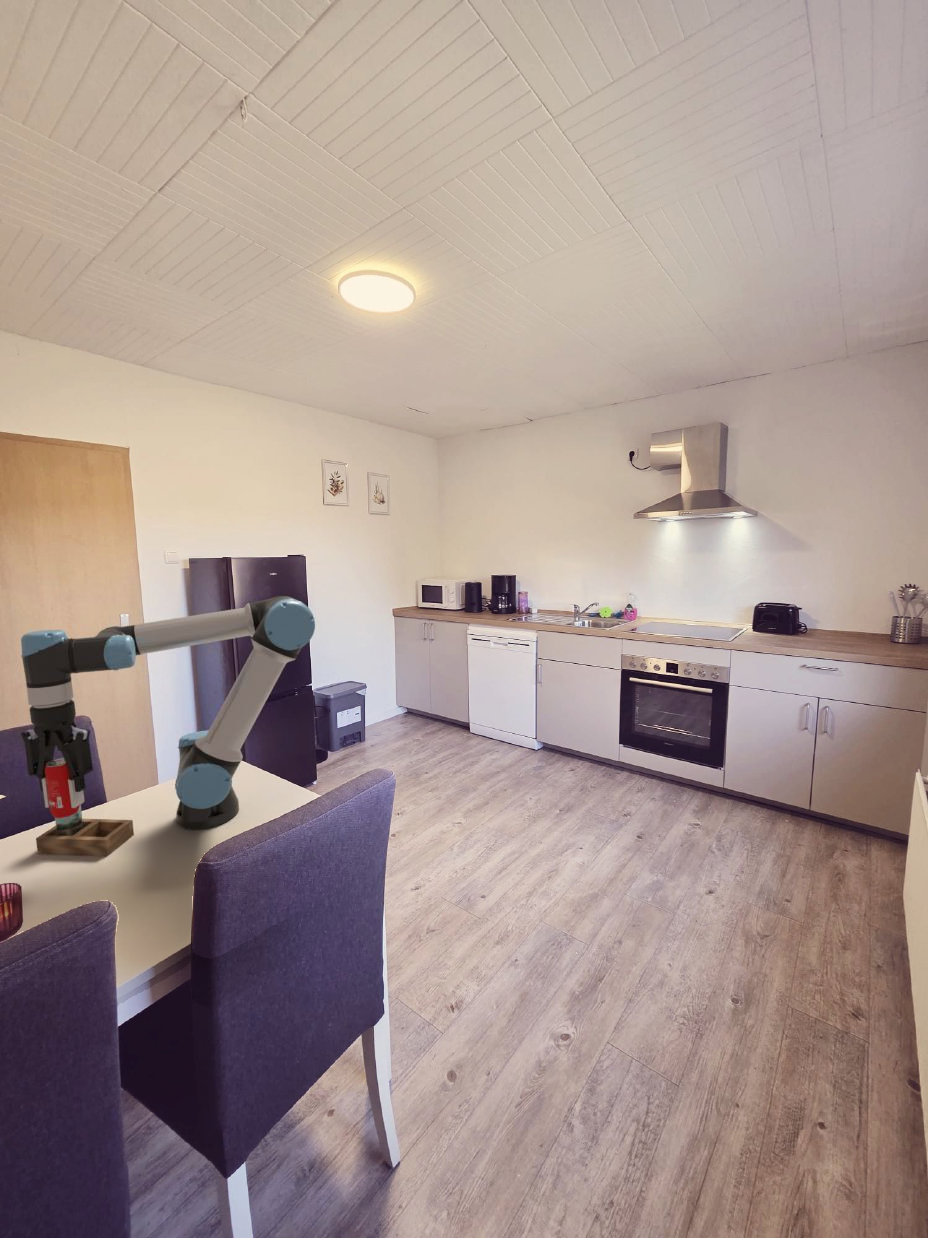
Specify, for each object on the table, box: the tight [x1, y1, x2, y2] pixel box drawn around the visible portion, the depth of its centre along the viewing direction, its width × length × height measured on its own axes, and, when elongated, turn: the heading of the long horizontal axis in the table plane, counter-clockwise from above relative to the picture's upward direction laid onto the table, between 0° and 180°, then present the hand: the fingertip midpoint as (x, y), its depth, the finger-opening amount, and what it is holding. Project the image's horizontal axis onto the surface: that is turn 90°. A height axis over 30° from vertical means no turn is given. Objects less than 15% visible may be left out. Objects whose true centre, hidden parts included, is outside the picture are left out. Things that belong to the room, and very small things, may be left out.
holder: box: [35, 818, 135, 857], centre depth 124 cm, size 17×9×4 cm, turn 88°
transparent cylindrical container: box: [54, 804, 83, 836], centre depth 124 cm, size 5×5×12 cm
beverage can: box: [45, 757, 80, 819], centre depth 112 cm, size 5×5×12 cm
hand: (65, 804), depth 112 cm, fingers closed on beverage can, 5 cm apart
